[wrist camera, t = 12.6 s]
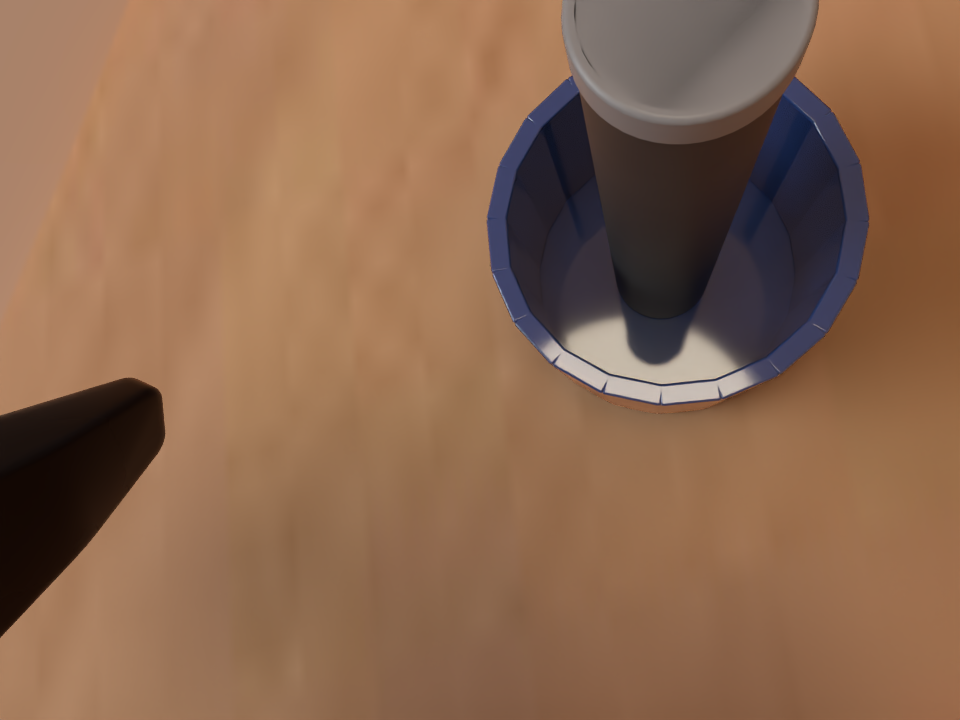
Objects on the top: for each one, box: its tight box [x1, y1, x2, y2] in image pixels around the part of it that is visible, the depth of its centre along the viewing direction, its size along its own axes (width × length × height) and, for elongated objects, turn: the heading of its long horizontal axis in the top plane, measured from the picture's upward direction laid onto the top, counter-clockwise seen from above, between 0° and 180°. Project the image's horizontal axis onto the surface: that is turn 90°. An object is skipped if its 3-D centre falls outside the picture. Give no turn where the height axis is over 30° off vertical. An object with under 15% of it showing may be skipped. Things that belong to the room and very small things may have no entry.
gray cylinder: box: [561, 0, 819, 319], centre depth 13 cm, size 2×2×12 cm
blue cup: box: [487, 76, 869, 414], centre depth 17 cm, size 7×7×6 cm
